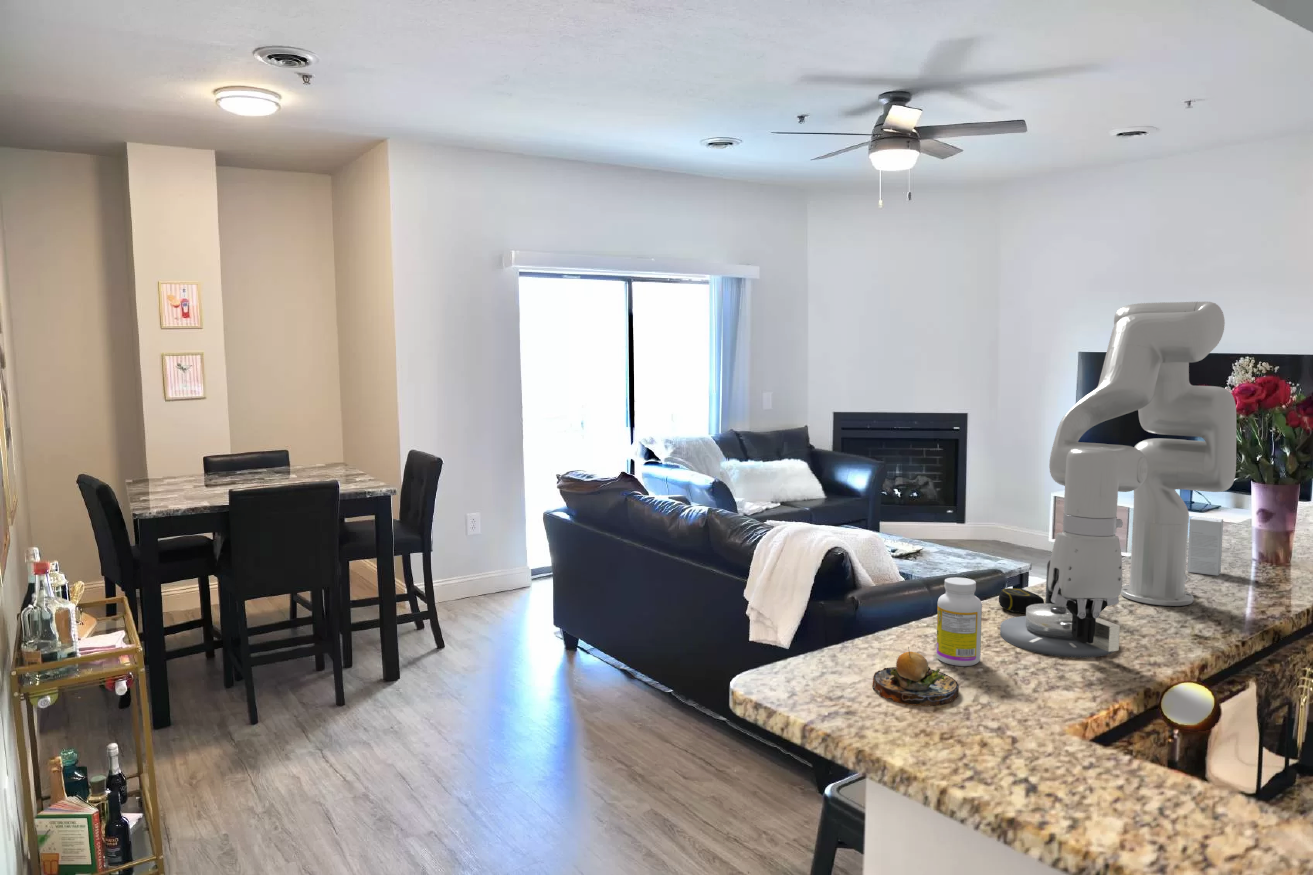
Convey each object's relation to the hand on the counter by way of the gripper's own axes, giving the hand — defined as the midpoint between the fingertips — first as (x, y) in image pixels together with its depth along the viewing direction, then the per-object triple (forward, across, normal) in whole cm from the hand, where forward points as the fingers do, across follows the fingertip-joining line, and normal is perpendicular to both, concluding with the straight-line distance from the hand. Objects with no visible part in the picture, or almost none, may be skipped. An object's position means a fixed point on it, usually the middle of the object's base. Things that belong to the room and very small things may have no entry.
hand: (1082, 640), depth 142 cm
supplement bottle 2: (+3, -13, -27) cm, 30 cm away
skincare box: (+1, -59, -50) cm, 77 cm away
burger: (+4, +32, +10) cm, 33 cm away
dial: (+1, -2, -6) cm, 7 cm away
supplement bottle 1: (+4, +20, -2) cm, 20 cm away
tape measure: (+3, -4, -27) cm, 28 cm away
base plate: (+3, -1, -10) cm, 10 cm away
